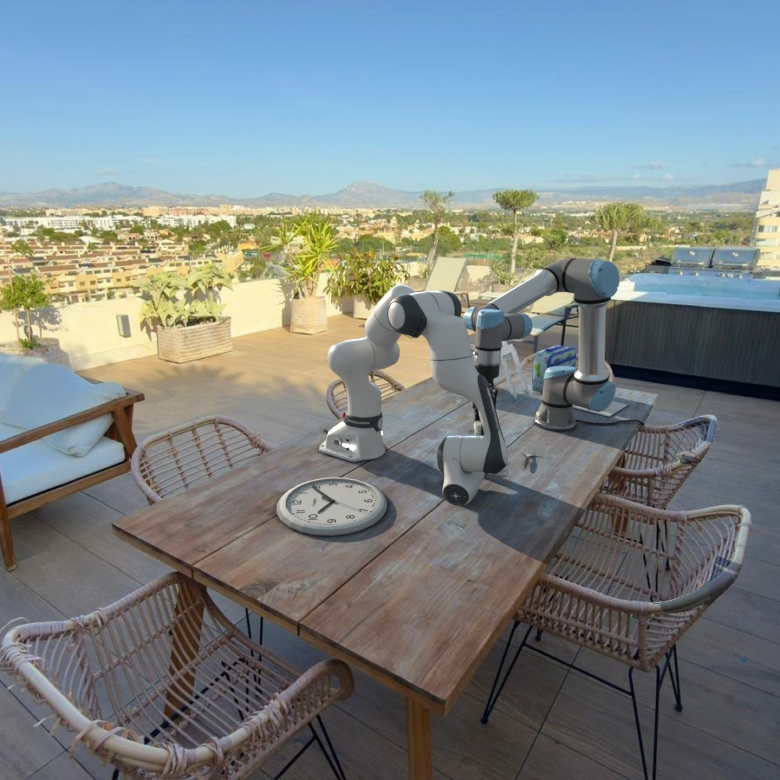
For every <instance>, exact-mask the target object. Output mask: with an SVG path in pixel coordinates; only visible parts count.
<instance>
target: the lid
mask: <svg viewBox="0 0 780 780" xmlns="http://www.w3.org/2000/svg"><path fill="white" fill-rule="evenodd" d="M474 421H475V420H474ZM474 429H475V430H477V431H480V432H481V420H479V421H475V422H473V430H474Z"/></svg>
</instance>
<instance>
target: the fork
mask: <svg viewBox="0 0 780 780" xmlns="http://www.w3.org/2000/svg"><path fill="white" fill-rule="evenodd" d="M534 448H535V446H534V445H531V447H530V448H528V447H526V448H525V452H524V455H525V456H526V458H525V460H524V469H527V466H528V464H529V461H530V457H532V456H534Z"/></svg>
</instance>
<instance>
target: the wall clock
mask: <svg viewBox="0 0 780 780" xmlns="http://www.w3.org/2000/svg"><path fill="white" fill-rule="evenodd" d="M387 509H388V500H387V498H386V496H385V494H384V493H383V492H382V491H381V490H380V489H379V488H377V487H376V486H374V485H372V484H371V483H369V482H365V481H362V480H359V479H355V478H349V477H338V476H337V477H335V476H333V477H332V476H331V477H322V478H317V479H312V480H307V481H305V482H302V483H299V484H297V485H295V486H293V487H292V488H290V489H288V490H287V491H286V492H285V493H284V494H283V495H281V496H280V498H279V499H278V502H277V503H276V515H277V517H278V518H279V520H280V521H281V522H282V523H283V524H285V525H286V526H287V527H288V528H290V529H293V530H295V531H297V532H299V533H303V534H308V535H312V536H327V537H328V536H329V537H331V536H332V537H333V536H342V535H350V534H352V533H356V532H361V531H363V530H366V529H368V528H369V527H372V526H373V525H375V524H376V523H378V522H379V521H380V520H381V519H382V518H383V517H384V516H385V514H386V512H387Z"/></svg>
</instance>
